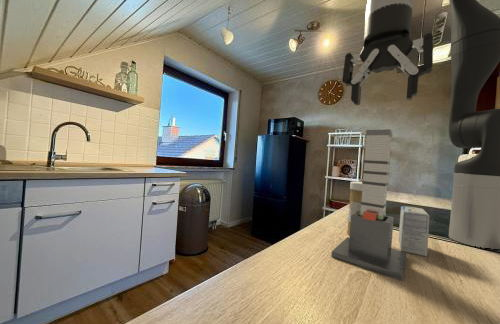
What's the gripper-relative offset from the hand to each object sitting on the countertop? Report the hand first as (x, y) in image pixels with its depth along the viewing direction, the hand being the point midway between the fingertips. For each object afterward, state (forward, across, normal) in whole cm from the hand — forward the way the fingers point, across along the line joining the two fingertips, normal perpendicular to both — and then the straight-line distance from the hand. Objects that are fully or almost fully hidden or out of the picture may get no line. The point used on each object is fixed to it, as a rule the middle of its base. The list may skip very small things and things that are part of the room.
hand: (381, 101), depth 40 cm
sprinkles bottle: (+30, +5, -12) cm, 33 cm away
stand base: (+30, 0, 0) cm, 30 cm away
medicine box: (+30, -6, -13) cm, 34 cm away
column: (+23, 0, 0) cm, 23 cm away
